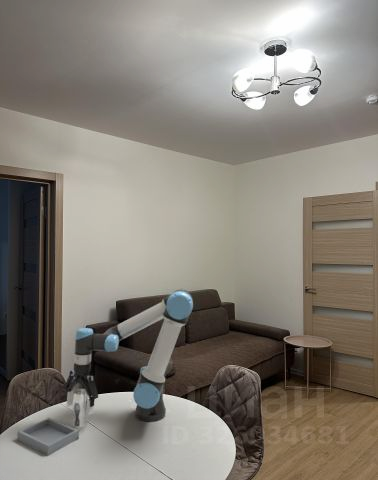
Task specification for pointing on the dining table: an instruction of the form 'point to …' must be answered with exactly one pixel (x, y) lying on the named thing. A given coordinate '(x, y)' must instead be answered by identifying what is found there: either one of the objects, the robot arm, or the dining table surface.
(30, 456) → the dining table surface
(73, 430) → the tray
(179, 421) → the dining table surface
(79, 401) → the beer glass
